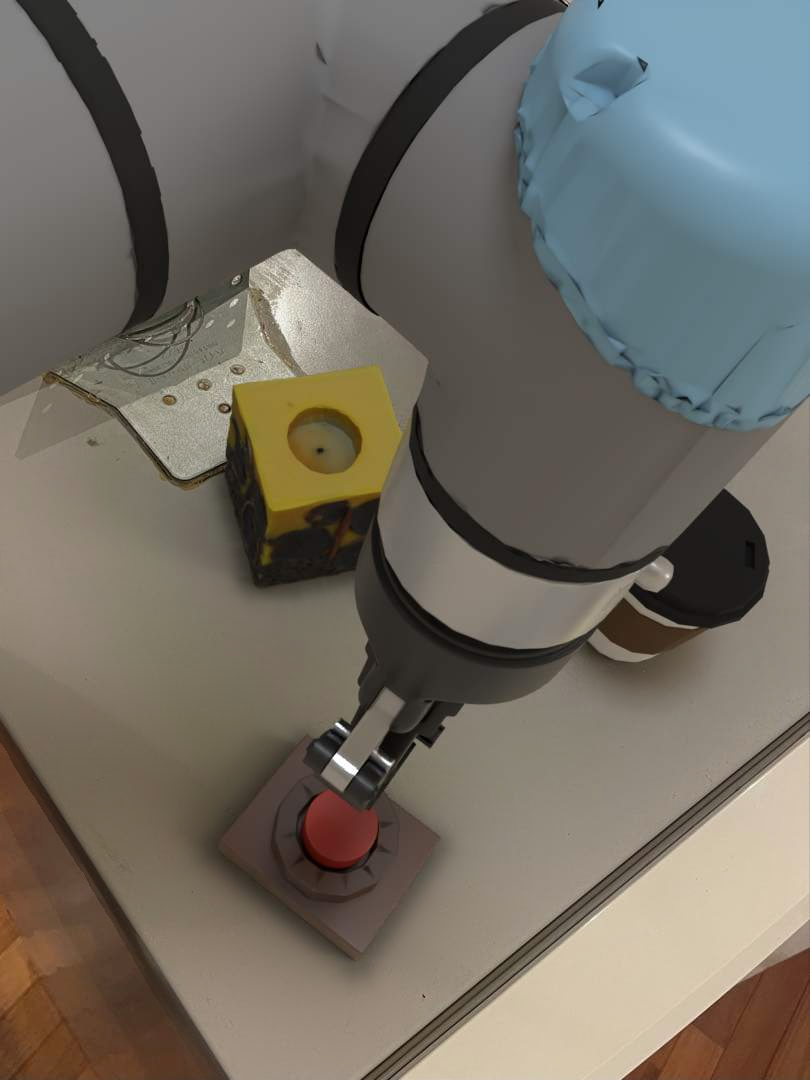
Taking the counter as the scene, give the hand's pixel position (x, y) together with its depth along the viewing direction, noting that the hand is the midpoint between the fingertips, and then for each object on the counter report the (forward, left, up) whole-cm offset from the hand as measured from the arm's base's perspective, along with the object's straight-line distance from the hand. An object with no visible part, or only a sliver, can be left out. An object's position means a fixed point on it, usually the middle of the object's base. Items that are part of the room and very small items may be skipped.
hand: (356, 782), depth 49 cm
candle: (-15, +17, -12) cm, 26 cm away
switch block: (0, 0, -12) cm, 12 cm away
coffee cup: (+7, +25, -12) cm, 29 cm away
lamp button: (0, 0, -8) cm, 8 cm away
